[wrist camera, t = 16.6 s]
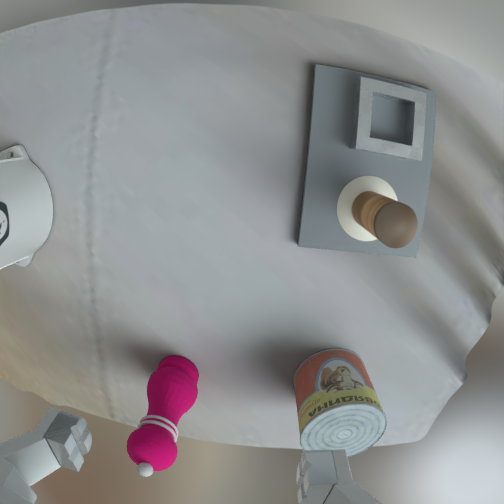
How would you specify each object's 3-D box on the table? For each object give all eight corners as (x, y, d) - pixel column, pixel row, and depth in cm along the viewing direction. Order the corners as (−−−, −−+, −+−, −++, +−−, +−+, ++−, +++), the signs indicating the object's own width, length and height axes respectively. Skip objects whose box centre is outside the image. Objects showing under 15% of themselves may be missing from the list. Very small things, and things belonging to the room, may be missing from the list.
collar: (350, 148, 35) (355, 148, 32) (354, 80, 32) (360, 76, 30) (413, 160, 35) (421, 161, 32) (417, 95, 32) (426, 93, 30)
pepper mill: (147, 366, 46) (100, 463, 27) (178, 344, 44) (136, 449, 25) (179, 395, 48) (149, 495, 28) (211, 376, 46) (189, 484, 27)
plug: (349, 225, 37) (373, 246, 29) (353, 189, 36) (380, 200, 27) (382, 228, 37) (413, 250, 29) (387, 193, 36) (420, 205, 27)
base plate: (297, 244, 40) (298, 247, 38) (314, 66, 33) (315, 63, 32) (412, 254, 40) (416, 258, 38) (431, 93, 33) (436, 92, 32)
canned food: (368, 343, 44) (394, 396, 32) (361, 398, 47) (379, 451, 36) (292, 352, 44) (300, 410, 33) (293, 407, 48) (299, 463, 36)
